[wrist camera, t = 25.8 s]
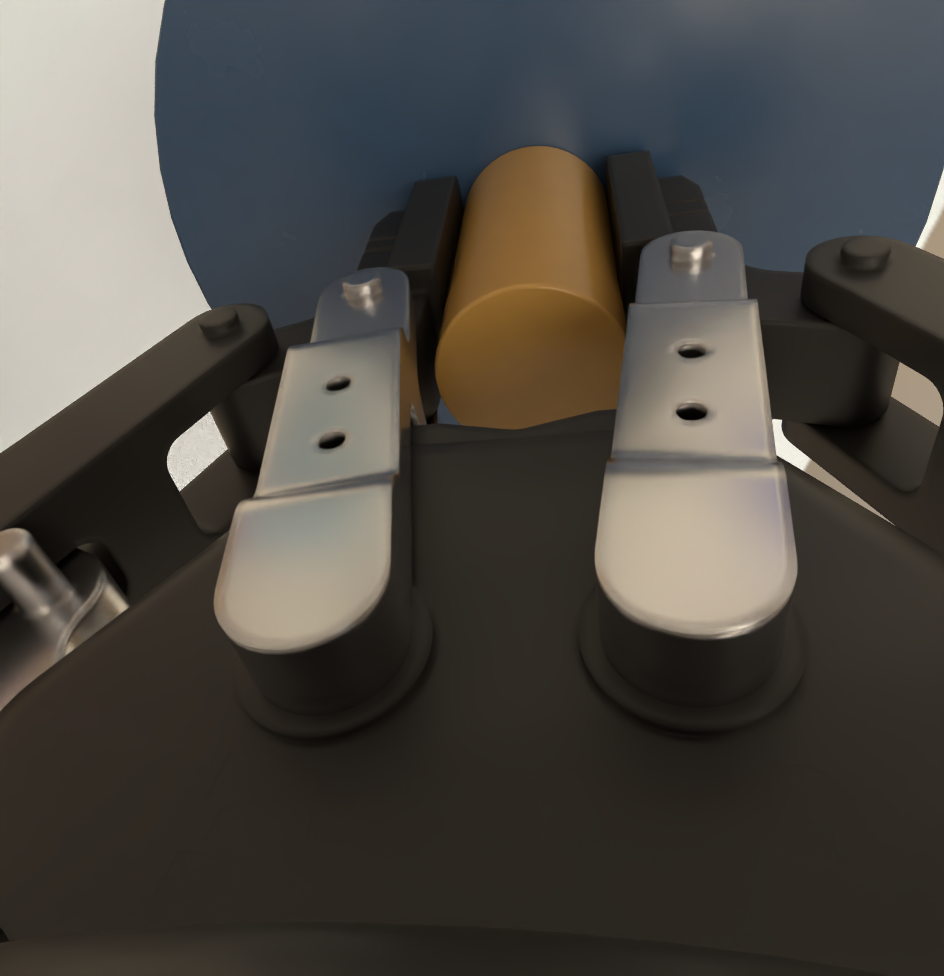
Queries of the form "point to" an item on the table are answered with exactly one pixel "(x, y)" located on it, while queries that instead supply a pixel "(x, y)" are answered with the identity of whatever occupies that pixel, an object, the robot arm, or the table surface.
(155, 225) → the table surface
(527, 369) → the tin lid
